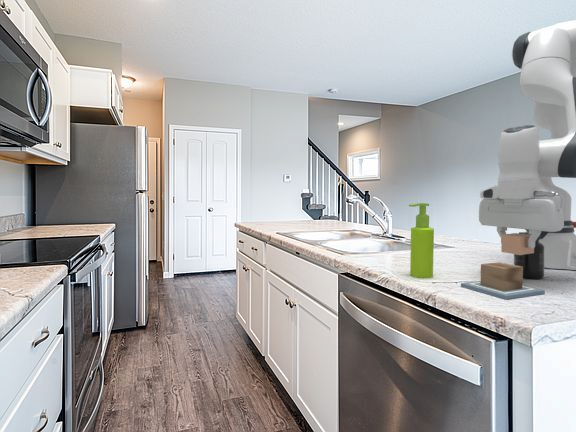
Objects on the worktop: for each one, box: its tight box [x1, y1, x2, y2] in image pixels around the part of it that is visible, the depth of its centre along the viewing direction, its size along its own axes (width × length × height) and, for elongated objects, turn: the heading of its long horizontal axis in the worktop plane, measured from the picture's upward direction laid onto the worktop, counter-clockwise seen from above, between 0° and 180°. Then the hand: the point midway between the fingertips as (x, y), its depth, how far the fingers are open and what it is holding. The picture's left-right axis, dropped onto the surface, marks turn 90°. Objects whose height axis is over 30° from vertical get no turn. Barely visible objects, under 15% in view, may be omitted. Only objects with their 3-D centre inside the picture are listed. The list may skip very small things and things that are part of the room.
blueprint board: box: [460, 280, 546, 301], centre depth 85 cm, size 12×12×1 cm
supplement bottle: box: [513, 231, 545, 280], centre depth 98 cm, size 7×7×12 cm
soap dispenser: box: [408, 202, 435, 279], centre depth 99 cm, size 6×7×20 cm
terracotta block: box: [500, 232, 534, 255], centre depth 92 cm, size 5×5×4 cm
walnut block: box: [480, 261, 524, 291], centre depth 84 cm, size 6×6×5 cm
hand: (517, 246), depth 92 cm, fingers closed on terracotta block, 5 cm apart
